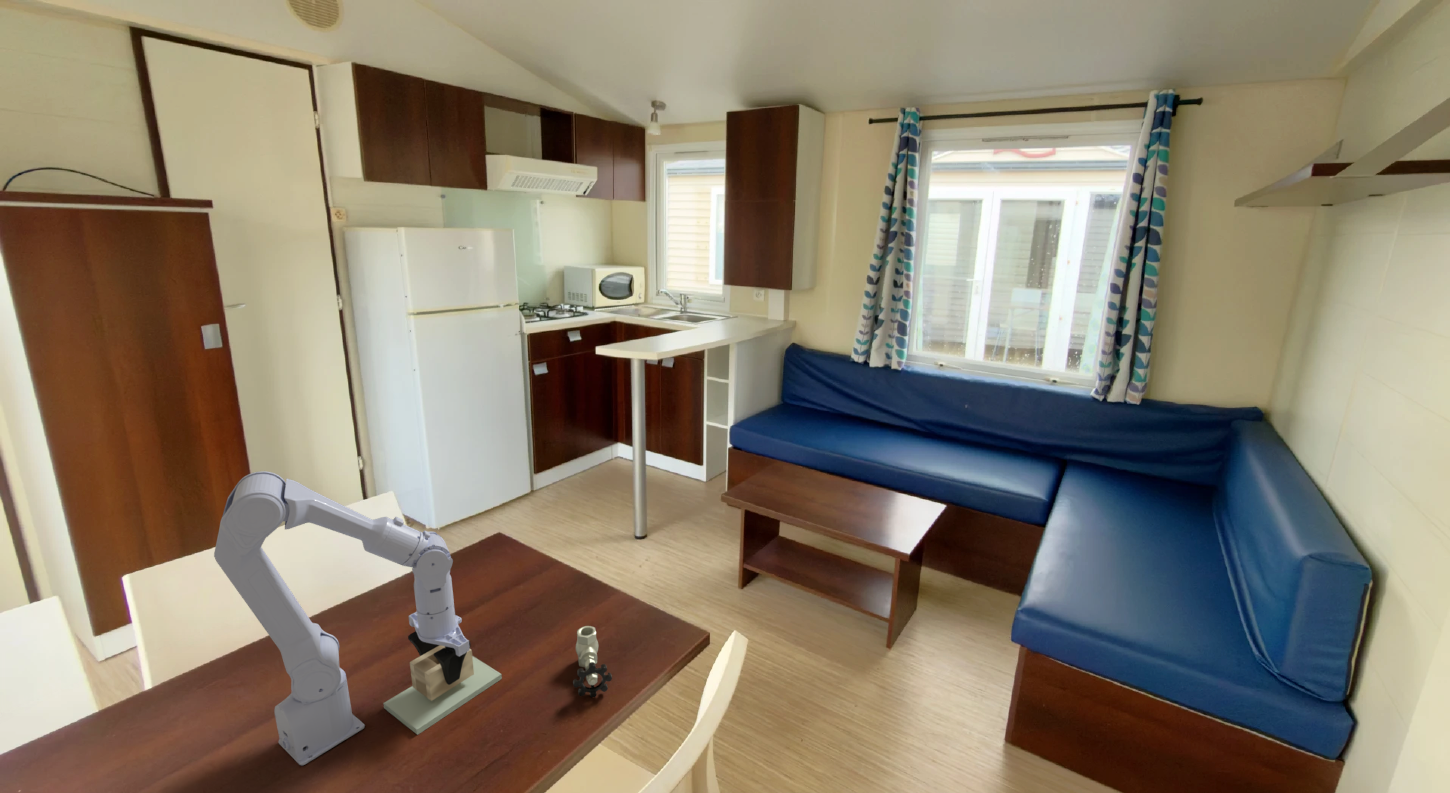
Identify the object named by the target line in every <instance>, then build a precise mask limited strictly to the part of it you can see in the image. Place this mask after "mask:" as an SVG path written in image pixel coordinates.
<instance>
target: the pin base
mask: <svg viewBox="0 0 1450 793" xmlns="http://www.w3.org/2000/svg"><path fill="white" fill-rule="evenodd" d="M472 659H473V669H474V675H472V676H470V677H469V678H467V679H466V680H464V681H463V682H461V683H459V684H458V685H456V686H455V687H453V688H451V689H450V690H448V691H447V692H445V693H444V694H442V695H440V696H439V697H437V698H436V699H434V700H432V701H431V700H430V699H428V698H427V697H426V696H424V695H423V694H421V693H420V692H419V691H417V690H416V689H415V688H413V685H411V686H410V687H408V688H407V689H405V690H403V691H401V692H400V693H398V694H397V695H395V696H392V697H391V698H389V699H388V700H386V701H385V702H383V709H385V710H386V711H387V712H388V713H390V714H391V715H392V716H393V717H395V718H396V719H397V720H398V721H399V722H401V723H402V724H403V725H404V726H405V727H407V728H408V729H410V731H412V732H413V733H415V734H416V735H418V736H419V735H420V734H421V733H423V732H425V730H427V729H428V728H430V727H432V726H433V725H435V724H436V723H437V722H439V721H441V720H442V719H444V718H445V717H446V716H448V715H450V714H451V713H453V712H454V711H455V710H457V709H459V708H461V707H462V706H464V704H466V703H468V702H469V701H471V700H472V699H473V698H476V697H477V696H478V695H480V694H481V693H482V692H485V691H486V690H487V689H489V688H490V687H491V686H493V685H494V684H497V683H498V682H499V681H501V680H502V678H503V675H502V673H500V672H499V671H497V670H496V669H494V668H492V667H491V666H490V665H488V664H486V663H485V662H484V661H482V660H480V659H478V658H477V657H476V656H474V655H472Z"/></svg>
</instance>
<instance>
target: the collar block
mask: <svg viewBox="0 0 1450 793" xmlns="http://www.w3.org/2000/svg"><path fill="white" fill-rule="evenodd" d="M443 648H445V646H441V645H439V646H438V647H436V648H434V649H432V650H430V651H429V652H427V653H425V654H423V655H422V656H420V655H419V656H418V657H416V658H415V659H412V660H411V661H409V668H410V676H411V683H412V685H411V686H413V688H415V689H416V690H417V691H419V692H420V693H421V694H423V695H424V696H426V697H427V698H428V699H430V700H431V701H432V700H434V699H436V698H437V697H439V696H440V695H442V694H444V693H445V692H447V691H448V690H450V689H451V688H453V687H455V686H456V685H458V684H459V683H461V682H463V681H464V680H466V679H467V678H469V677H470V676H472V675H474V669H473V659H472V656H473V651H472V649H471V648H470V651H468V652H467V653H466V655H465V658H464V661H463V664H462V668H461V674H460V678H459V679H458V680H457V681H455V682H454V683H452V684H450V685H448V684H447V683H446V681H445V678H444V674H443V670H442V667H441V665H440V663H439V661H438V660H437V659H436V657H435V656H434V653H435V652H437V651H439V650H441V649H443Z"/></svg>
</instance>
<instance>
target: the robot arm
mask: <svg viewBox="0 0 1450 793" xmlns="http://www.w3.org/2000/svg"><path fill="white" fill-rule="evenodd" d="M222 513H223V514H222V516H221V519H220V523H219V529H218V533H217V539H216V543H215V548H214V553H213V557H214V559H215V561H216V562H215V563H216V564H217V565H218V566H219V567H220V568H221V570H222V572H223V573H224V574H225V576H226V577H227V578H228V580H229V581H230V582H231V584H232V586H234V588H235V589H236V591H237V593H238V594H239V595H240V596H241V599H243V600H244V602H245V603H246V605H247V606H248V608H249V609H250V611H251V612H252V614H253V615H254V616H255V617H256V619H257V620H258V622H259V623H260V625H261V626H262V628H263V629H264V630H265V631H266V633H267V635H269V637H270V639H271V640H272V641H273V643H274V644H275V645H276V647H277V649H278V650H279V652H280V654H281V658H282V661H283V665H284V668H285V672H286V673H287V674H288V676H289V678H290V681H291V682H290V687H291V688H290V690H291V693H290V694H289V695H288V696H287V697H286V698H284V699H283V700H282V701H281V702H280V703H278V704H276V705H275V706H274V712H273V713H274V718H275V724H276V728H277V732H278V745H280V747H282V748H283V749H284V750H285V752H287V754H288V755H289V756H291V758H292V759H294V761H295V762H296V763H297V764H298V765H299V766H304V765H306V764H308V763H310V762H311V761H313V760H315V759H316V758H318V757H320V756H321V755H323V754H324V753H326V752H328V751H329V750H331V749H332V748H334V747H336V746H337V745H339V744H341V743H342V742H344V741H345V740H347V739H349V738H350V737H352V736H354V735H355V734H357V733H358V732H360V731H362V730H363V729H365V726H366V725H365V723H364V722H362V721H361V720H360V719H359V718H358V717H356V716H355V715H354V713H352V712H353V711H352V705H351V704H352V703H351V699H350V693H349V686H348V680H347V674H346V671H344V669H342V668H341V667H340V656H339V653H340V652H339V651H340V642H339V640H338V639H337V637H336V636H334V635H333V634H332V633H331V634H330V633H328V632H326V631H324V630H323V629H322V628H321V626H320V625H319V623H315V622H312V620H311V619H310V617H309V616H308V614H307V613H306V612H305V610H304V608H302V607H303V606H302V605H301V604H300V603H299V601H298V600H297V598H296V596H295V595H294V594H293V592H292V591H291V589H290V587H289V586H288V585H287V583H286V582H285V580H284V579H283V577H282V576H281V575H280V573H279V571H278V570H277V568H276V566H275V565H274V564H273V562H272V561H271V559H270V558H269V556H268V554H266V552H265V550H264V549H263V547H262V546H263V544H264V542H265V540H266V539H267V538H268V537H269V536H270V535H271V534H273V532H275V531H276V530H277V529H278V528H279V527H280V525H282V523H283V522H284V530H290V529H294V528H296V527H298V526H301V525H305V524H308V523H309V524H313V525H316V526H319V527H322V528H325V529H326V530H331V531H333V532H336V533H338V534H342V535H345V536H348V537H351V538H354V539H357V540H360V541H361V542H362V546H363V549H364V551H365V552H367V553H370V554H372V555H375V556H377V557H380V558H383V559H385V560H387V561H390V562H393V563H396V564H398V565H400V566H402V567H408V568H411V571H412V574H413V577H414V578H413V579H414V582H413V591H414V599H415V600H414V601H415V606H416V607H415V608H416V611H415V612H413V613H411V614H410V615H408V623H409V626H411V627H412V628H413V627H414V629H415V630H414V632H412V633H410V634H409V635H407V639H408V641H409V642H410V643H411V644H412V645H413V647H414V648H415V650H416V651H417V653H418V655H419V657H420V656H422V655H423V654H425V653H427V652H429V651H430V650H432V649H434V648H436V647H438V646H439V645H441V646H445V648H443V649H441V650H439V651H437V652H435V653H434V656H435V657H436V659H437V660H438V661H439V663H440V665H441V667H442V670H443V674H444V678H445V681H446V683H447V684H448V685H450V684H452V683H454V682H455V681H457V680H458V679H459V678H460V674H461V668H462V664H463V661H464V658H465V655H466V653H467V652H468V651H470V649H471V644H472V643H471V641H470V640H469V639H467V638H466V636H464V634H463V632H462V629H461V627H460V624H461V623H462V620H463V619H462V617H460V616H458V615H456V610H455V603H454V602H455V601H454V592H453V590H454V589H453V582H452V580H453V579H452V576H451V574H450V573H451V569H452V566H453V562H454V560H453V558H452V556H451V553H450V550H449V548H448V546H447V543H446V540H444V539H443V537H442V536H441V535H440V534H438V533H437V532H435V531H433V530H432V531H428V530H423V532H422V531H421V530H417V529H416V528H413V527H411V526H408V525H406V524H404V519H403V518H400V517H398V516H394V517H393V519H392V518H391V517H388V516H382V517H378V518H375V519H372V518H371V517H368V516H366V515H364V514H362V513H360V512H358V511H355V510H354V509H353V508H352V509H351V508H350V507H347V506H345V505H343V504H341V503H339V502H337V501H335V500H333V499H331V498H329V497H327V496H324V495H323V494H321V493H319V492H316V491H315V490H313V489H311V488H309V487H307V486H305V485H303V484H302V483H301V482H298V481H296V480H293V479H290V478H286V479H284V478H283V477H281V476H280V475H279V474H277V473H275V472H272V471H266V470H264V471H261V470H260V471H255V472H251V473H248V474H247V475H245V476H243V477H242V478H241V479H240V480H239V481H238V482H237V484H236V485H235V486H234V488H233V490H232V491H230V494H229V495H228V496H227V500H226V503H225V506H224V509H223V512H222Z"/></svg>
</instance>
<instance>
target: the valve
mask: <svg viewBox="0 0 1450 793" xmlns="http://www.w3.org/2000/svg"><path fill="white" fill-rule="evenodd" d="M576 636H577V637H576V638H577V640H576V642H575V643H576V644H575V652H576V654H577V658H578V659H577V660H578V667H580V668H578V669H577V677H579V679H578V680H577V678H575V679H573V681H572V685H573V687H574V688H578V690H577V692H578V696H579V697H583V696H585V695H586V693H589V696H590V698H591V699H593V698H592V697H594V698H596V697H597V694H598V691H599V690H600V691H601V692H602V693H604V692H607V691H608V684H607V683H606V682H611V681H612V679H613V676H612V673H611V672H607V671H608V668H607V664H606V663H602V664H601V665H600V667H597V668H596V664H598V654H597V653H598V651H599V642H598V639H597V631H596V627H594V626H591V625H585V626H582V627H580V628H579V629H577V630H576ZM584 669H585V670H584ZM606 673H607V674H606ZM599 675H600V677H601V681H600V683H599V684H597V683H598V678H599ZM585 678H586V681H587V684H588V685H590V687H589V686H586V685H585V684H584V680H585ZM596 684H597V685H596Z"/></svg>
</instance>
